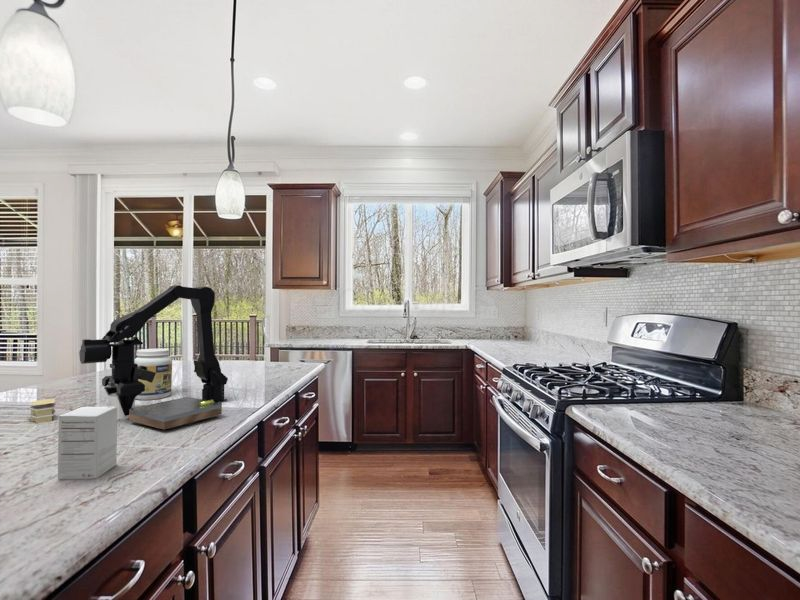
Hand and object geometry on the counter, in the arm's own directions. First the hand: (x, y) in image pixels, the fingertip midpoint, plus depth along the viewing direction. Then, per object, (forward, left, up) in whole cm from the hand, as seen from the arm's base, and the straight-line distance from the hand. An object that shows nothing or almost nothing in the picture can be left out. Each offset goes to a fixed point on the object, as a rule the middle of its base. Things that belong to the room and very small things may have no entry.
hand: (122, 412), depth 127 cm
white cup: (0, 0, -1) cm, 1 cm away
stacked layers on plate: (+13, -16, -2) cm, 20 cm away
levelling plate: (-6, +17, +2) cm, 18 cm away
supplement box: (+26, +36, -2) cm, 44 cm away
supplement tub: (-20, -18, -1) cm, 27 cm away
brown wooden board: (-6, +17, -1) cm, 18 cm away
